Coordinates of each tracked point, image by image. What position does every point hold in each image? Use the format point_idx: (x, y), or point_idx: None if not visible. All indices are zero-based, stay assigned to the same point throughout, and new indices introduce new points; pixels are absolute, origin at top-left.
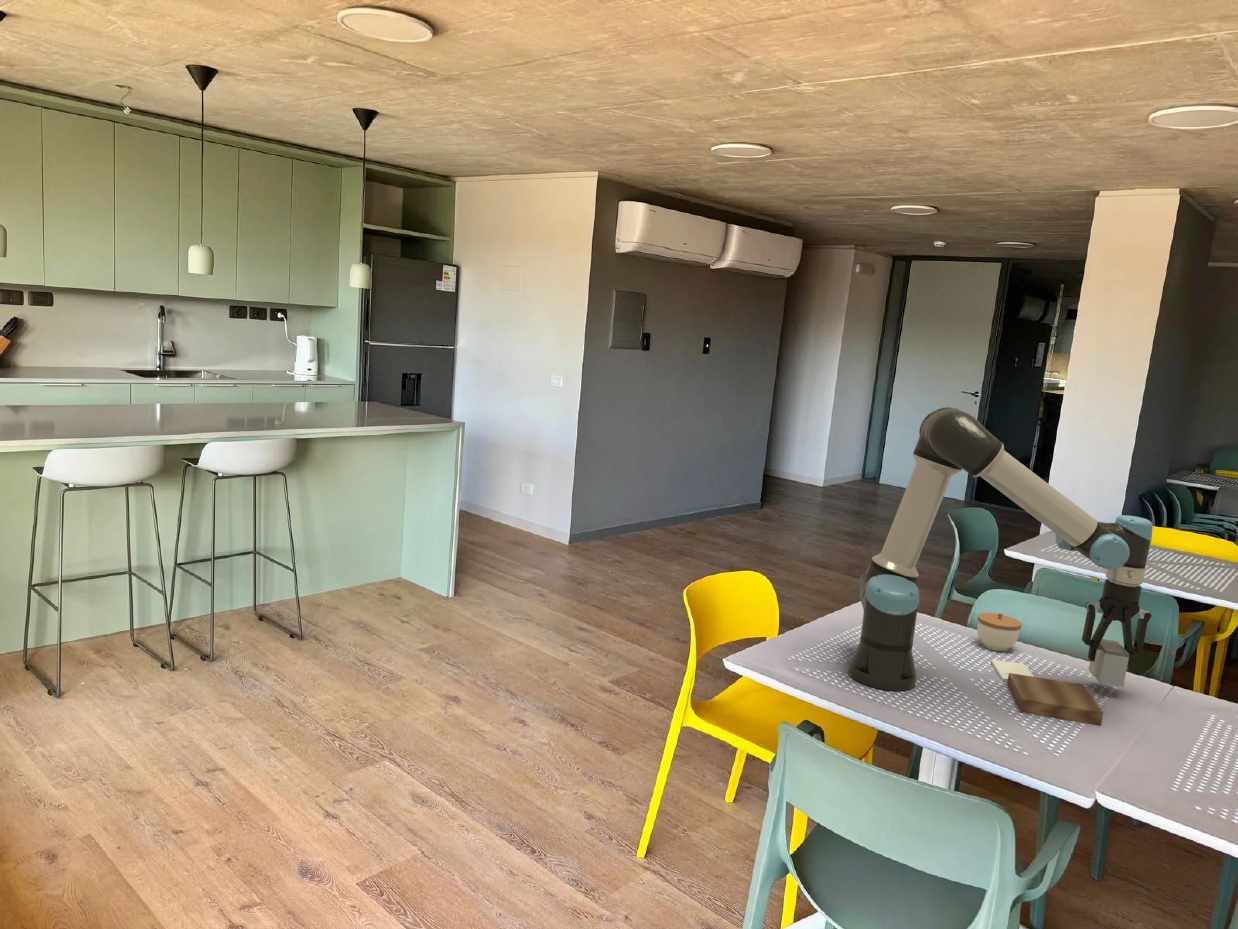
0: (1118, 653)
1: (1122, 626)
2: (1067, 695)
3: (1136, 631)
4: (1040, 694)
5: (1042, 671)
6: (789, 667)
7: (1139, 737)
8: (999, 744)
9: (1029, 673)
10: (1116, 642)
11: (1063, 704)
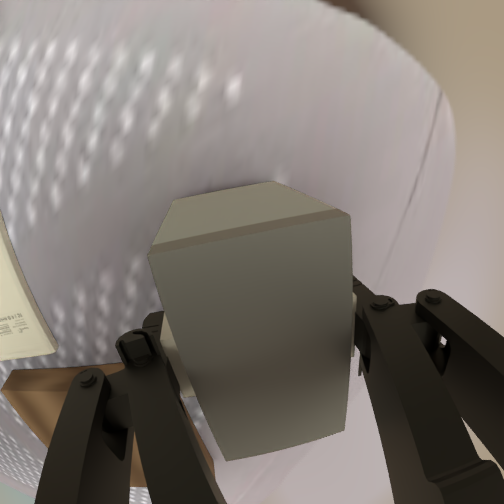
0: (290, 442)
1: (415, 467)
2: (139, 456)
3: (498, 380)
4: None
5: (37, 187)
6: None
7: (275, 461)
8: None
9: (13, 289)
10: (336, 255)
11: (144, 483)
